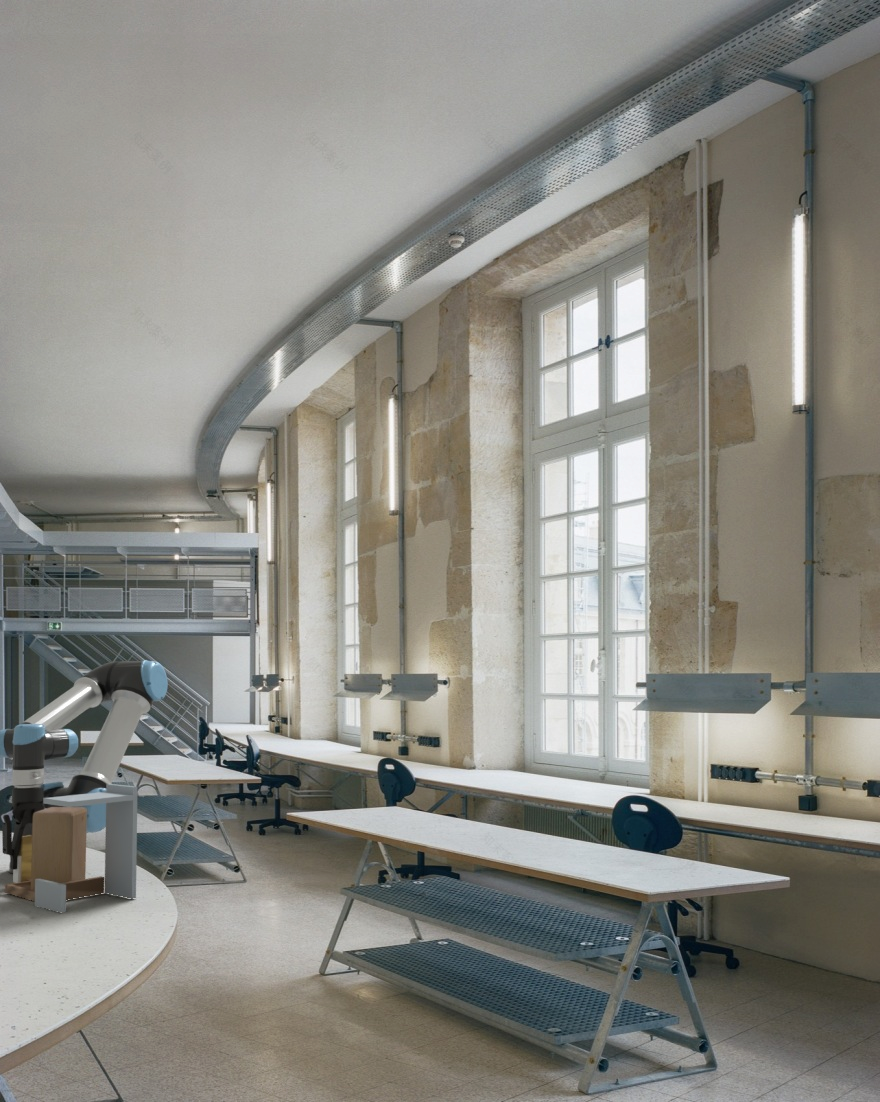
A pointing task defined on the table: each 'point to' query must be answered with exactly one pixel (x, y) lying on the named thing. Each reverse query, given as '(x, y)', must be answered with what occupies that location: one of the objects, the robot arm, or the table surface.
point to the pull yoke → (72, 888)
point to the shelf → (116, 844)
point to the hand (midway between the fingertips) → (26, 880)
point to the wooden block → (59, 844)
